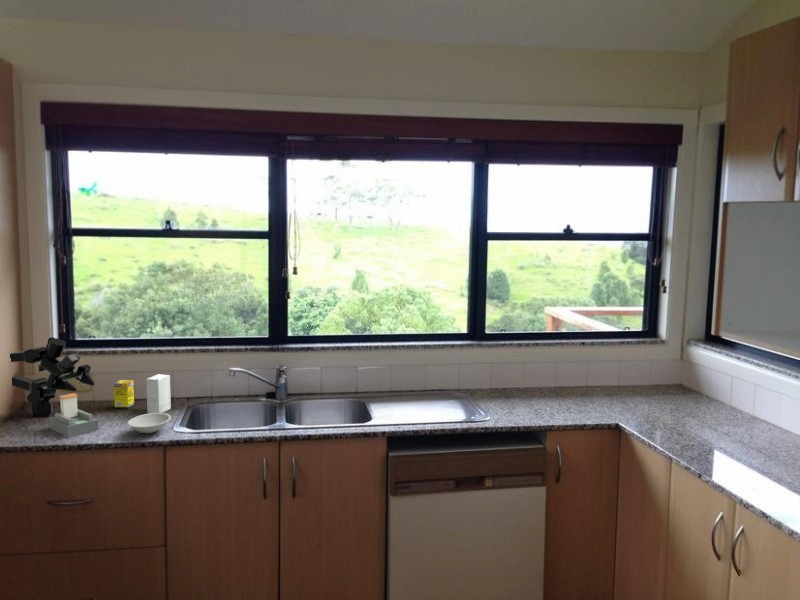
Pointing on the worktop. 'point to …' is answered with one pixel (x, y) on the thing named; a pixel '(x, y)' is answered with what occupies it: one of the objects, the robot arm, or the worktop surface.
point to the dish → (149, 422)
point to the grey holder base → (73, 424)
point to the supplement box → (124, 394)
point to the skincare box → (158, 393)
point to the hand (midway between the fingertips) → (85, 387)
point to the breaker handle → (69, 405)
